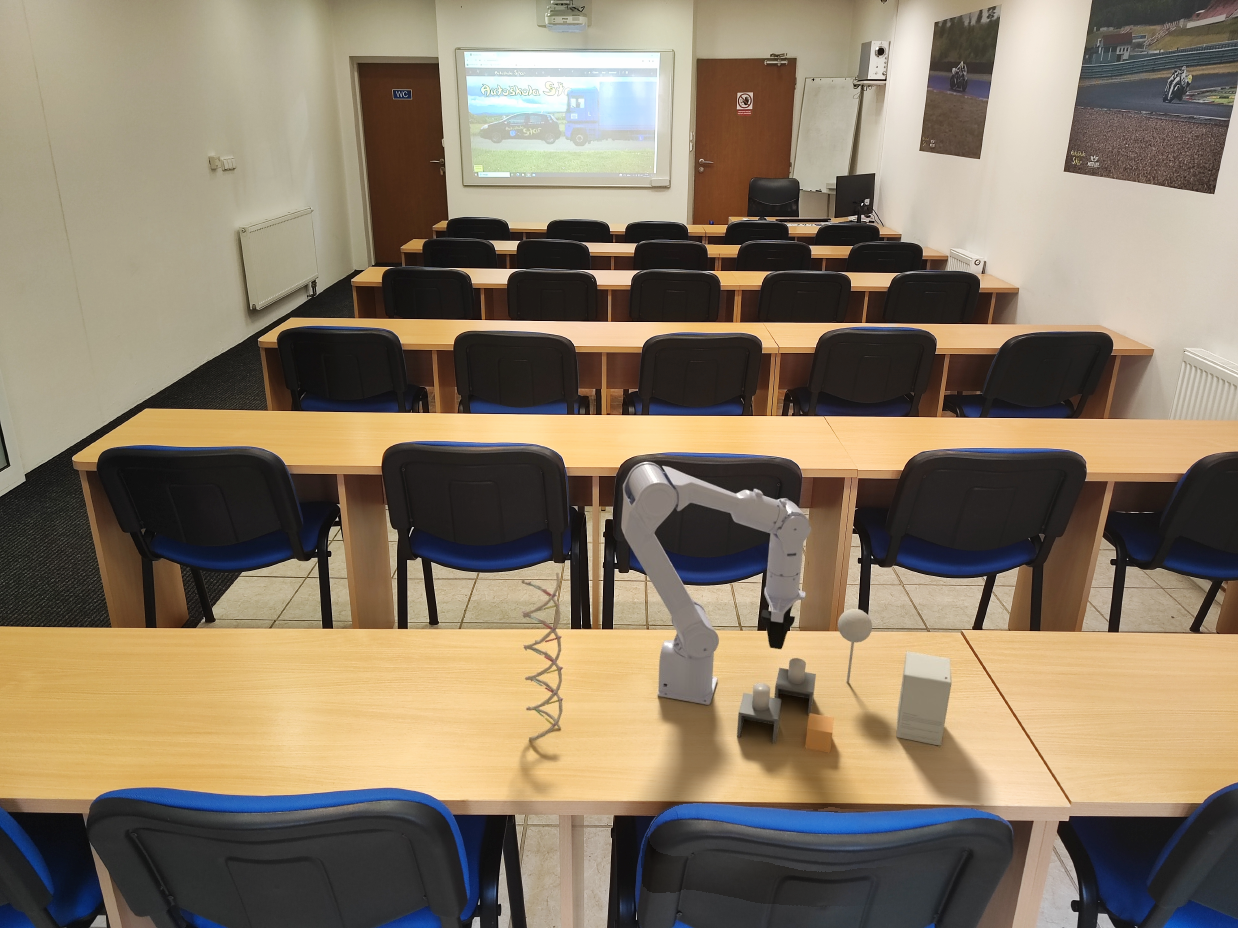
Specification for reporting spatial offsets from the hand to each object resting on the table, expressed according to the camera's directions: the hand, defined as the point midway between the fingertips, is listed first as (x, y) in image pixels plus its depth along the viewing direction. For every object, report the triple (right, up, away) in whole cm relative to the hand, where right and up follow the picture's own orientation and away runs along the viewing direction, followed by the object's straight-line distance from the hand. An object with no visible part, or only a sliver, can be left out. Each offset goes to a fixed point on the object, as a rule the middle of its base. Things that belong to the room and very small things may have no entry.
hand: (778, 635), depth 158 cm
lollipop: (+13, -9, +3) cm, 16 cm away
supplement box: (+22, -14, -9) cm, 28 cm away
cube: (+4, -15, -12) cm, 20 cm away
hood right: (+2, -11, -3) cm, 12 cm away
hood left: (-5, -14, -10) cm, 18 cm away
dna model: (-41, -14, -11) cm, 45 cm away
